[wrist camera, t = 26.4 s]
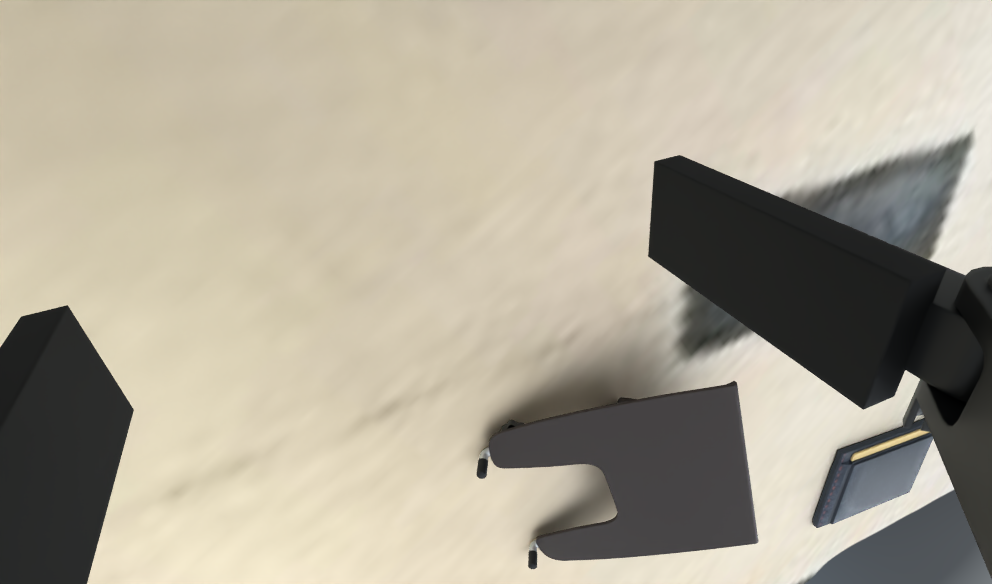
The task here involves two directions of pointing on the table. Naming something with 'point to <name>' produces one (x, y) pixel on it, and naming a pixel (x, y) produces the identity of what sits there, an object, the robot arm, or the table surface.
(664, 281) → the table surface
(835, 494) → the wallet
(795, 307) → the robot arm
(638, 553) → the dark gray curved stand
